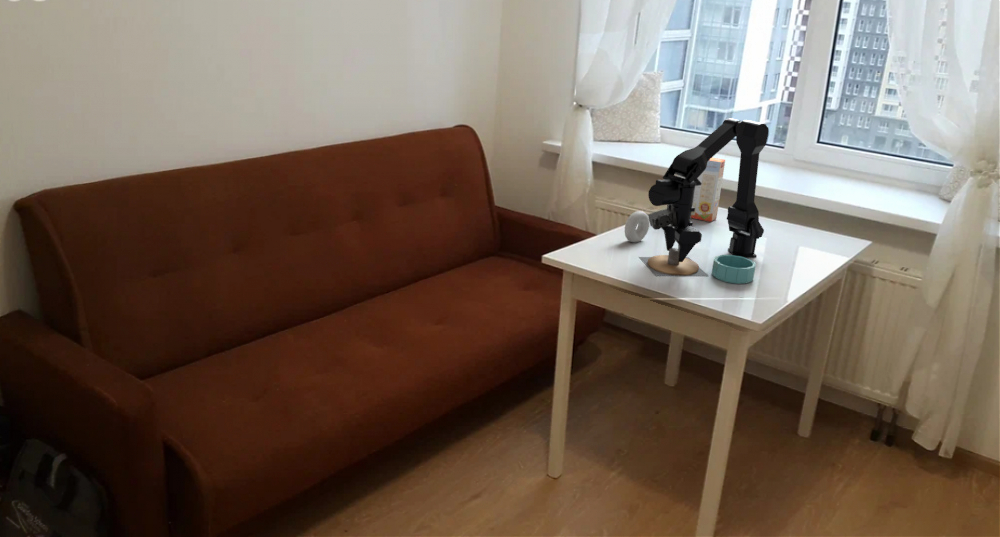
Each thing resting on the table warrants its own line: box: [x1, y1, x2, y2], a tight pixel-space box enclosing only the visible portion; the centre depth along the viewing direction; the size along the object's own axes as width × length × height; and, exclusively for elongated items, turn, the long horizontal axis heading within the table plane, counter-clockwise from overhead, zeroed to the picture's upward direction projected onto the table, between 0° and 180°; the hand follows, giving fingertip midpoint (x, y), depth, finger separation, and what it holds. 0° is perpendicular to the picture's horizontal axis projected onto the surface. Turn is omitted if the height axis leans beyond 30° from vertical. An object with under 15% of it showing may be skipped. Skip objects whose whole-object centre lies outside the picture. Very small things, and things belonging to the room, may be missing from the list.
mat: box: [638, 256, 709, 277], centre depth 212 cm, size 15×15×1 cm
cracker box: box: [677, 157, 726, 223], centre depth 258 cm, size 14×6×21 cm, turn 58°
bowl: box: [711, 254, 757, 285], centre depth 206 cm, size 11×11×5 cm
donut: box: [624, 210, 650, 243], centre depth 230 cm, size 10×4×10 cm, turn 133°
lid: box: [648, 247, 700, 275], centre depth 211 cm, size 14×14×5 cm
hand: (674, 256), depth 211 cm, fingers open, 9 cm apart
